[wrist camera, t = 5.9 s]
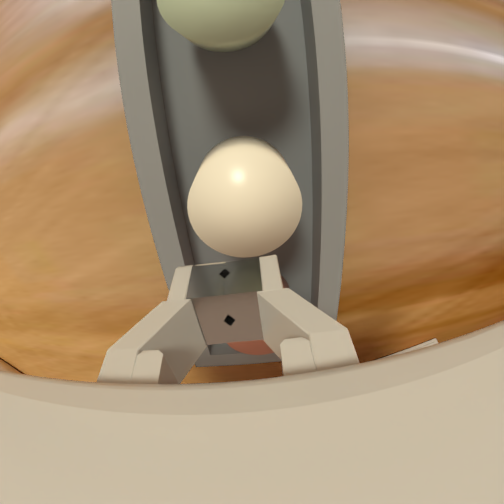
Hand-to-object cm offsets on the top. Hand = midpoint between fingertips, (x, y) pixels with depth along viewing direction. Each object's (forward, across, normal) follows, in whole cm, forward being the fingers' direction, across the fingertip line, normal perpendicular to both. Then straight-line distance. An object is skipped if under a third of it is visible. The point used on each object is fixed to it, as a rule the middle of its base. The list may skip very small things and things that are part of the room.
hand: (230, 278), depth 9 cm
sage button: (+9, +1, +10) cm, 13 cm away
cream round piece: (+9, +1, 0) cm, 9 cm away
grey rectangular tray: (+12, +1, 0) cm, 13 cm away
